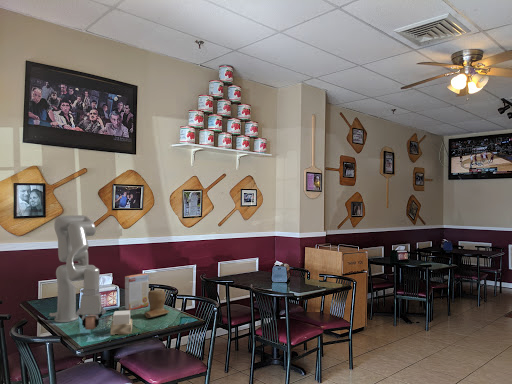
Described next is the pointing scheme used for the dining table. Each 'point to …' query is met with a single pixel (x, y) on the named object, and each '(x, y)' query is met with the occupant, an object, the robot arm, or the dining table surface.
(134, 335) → the dining table surface
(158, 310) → the tan piece
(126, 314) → the whitewashed block
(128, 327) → the maple base block
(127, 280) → the cracker box
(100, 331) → the dining table surface
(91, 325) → the terracotta cylinder
